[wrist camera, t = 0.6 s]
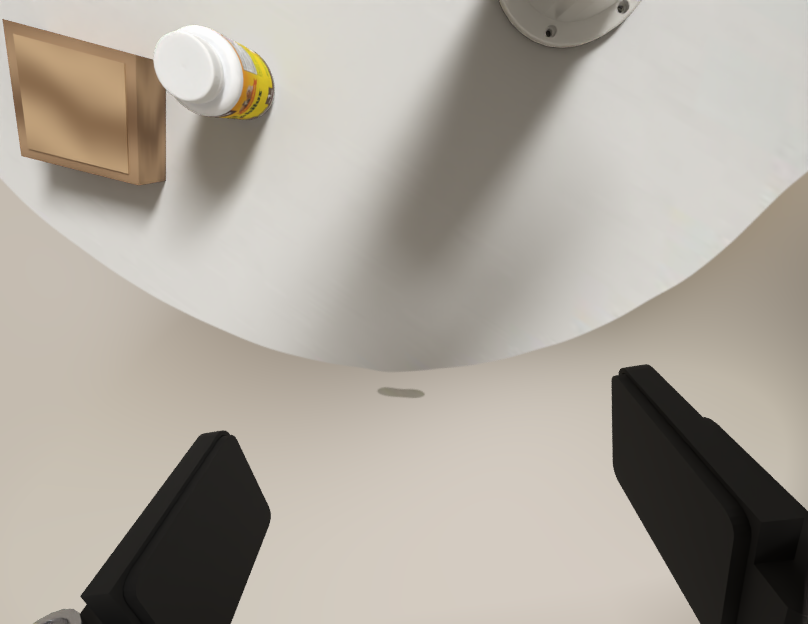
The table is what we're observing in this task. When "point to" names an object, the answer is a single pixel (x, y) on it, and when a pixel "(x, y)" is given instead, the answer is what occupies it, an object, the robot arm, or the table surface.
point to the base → (87, 105)
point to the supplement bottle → (213, 74)
